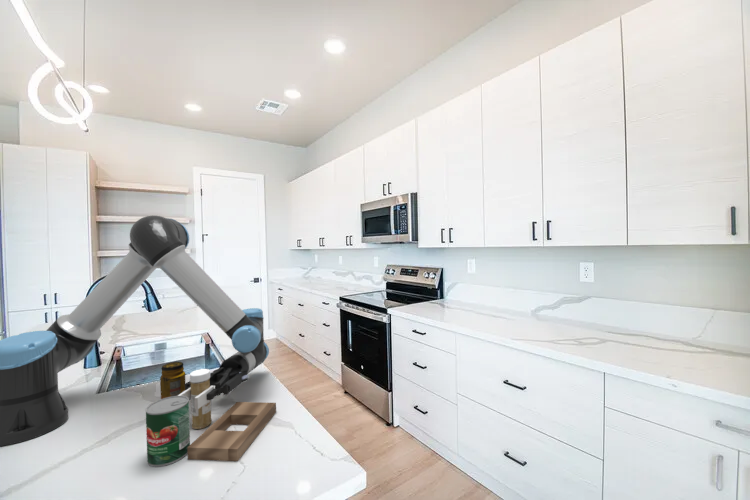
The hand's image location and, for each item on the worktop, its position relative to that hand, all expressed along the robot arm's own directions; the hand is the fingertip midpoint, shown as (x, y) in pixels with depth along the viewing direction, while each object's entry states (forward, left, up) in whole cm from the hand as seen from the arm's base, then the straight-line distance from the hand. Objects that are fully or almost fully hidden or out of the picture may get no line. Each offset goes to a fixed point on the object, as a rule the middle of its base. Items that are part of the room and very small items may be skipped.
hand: (186, 403), depth 77 cm
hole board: (+11, +2, -8) cm, 14 cm away
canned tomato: (0, -6, -8) cm, 10 cm away
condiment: (-14, +13, -8) cm, 21 cm away
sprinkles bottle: (0, +5, -8) cm, 10 cm away
